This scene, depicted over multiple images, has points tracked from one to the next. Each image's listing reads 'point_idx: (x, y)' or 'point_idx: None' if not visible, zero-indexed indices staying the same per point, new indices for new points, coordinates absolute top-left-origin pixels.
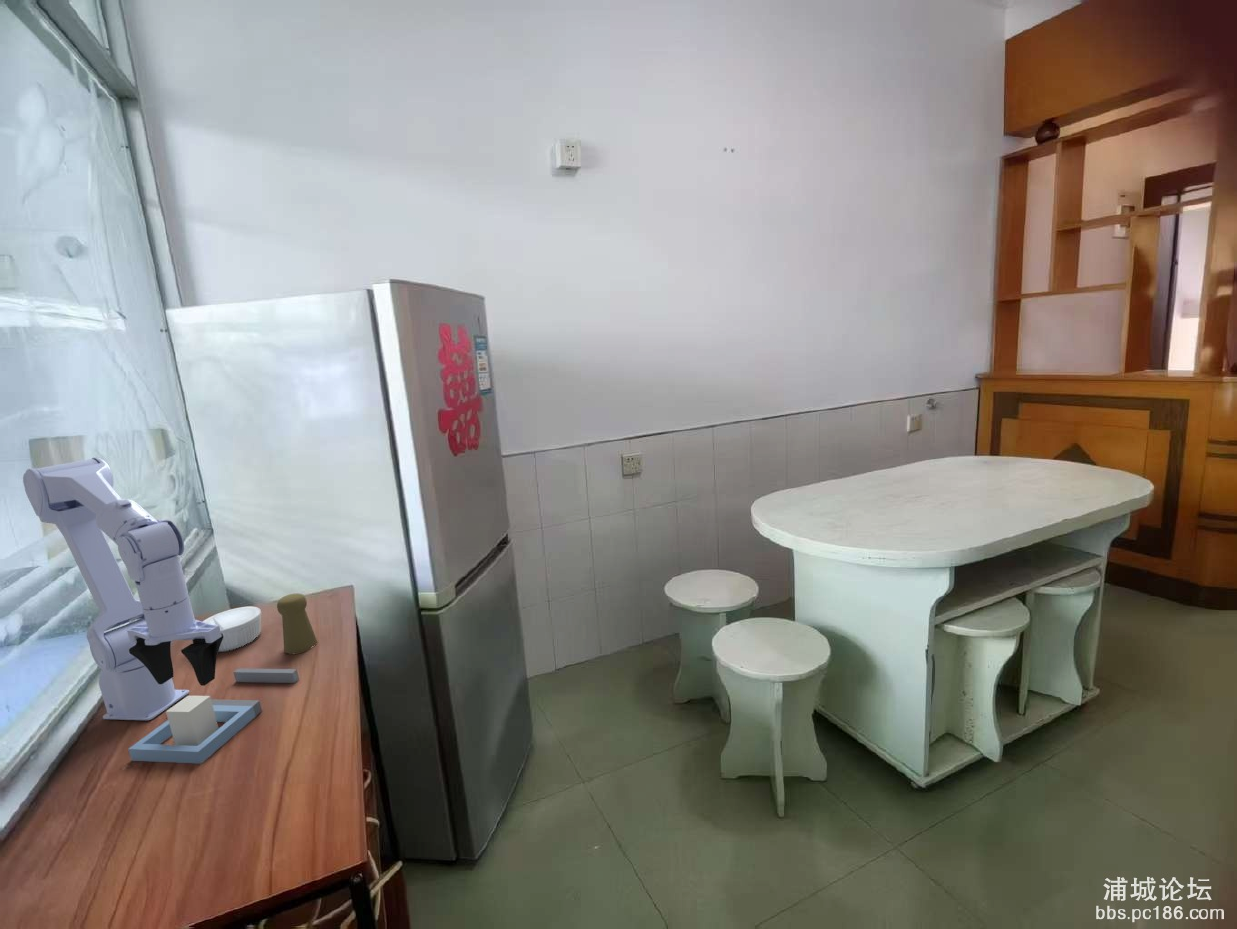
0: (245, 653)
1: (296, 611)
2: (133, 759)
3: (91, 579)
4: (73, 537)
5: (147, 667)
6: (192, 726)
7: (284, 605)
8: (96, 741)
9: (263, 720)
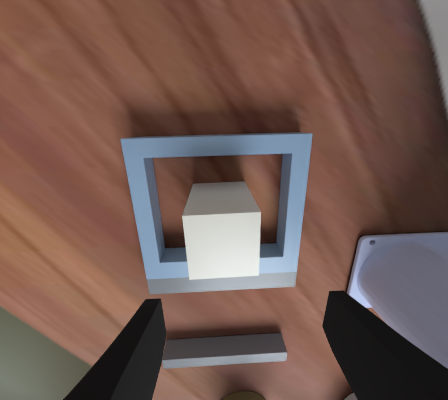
0: (326, 386)
1: None
2: (295, 132)
3: None
4: None
5: (435, 365)
6: (188, 199)
7: None
8: (426, 177)
9: (128, 257)
